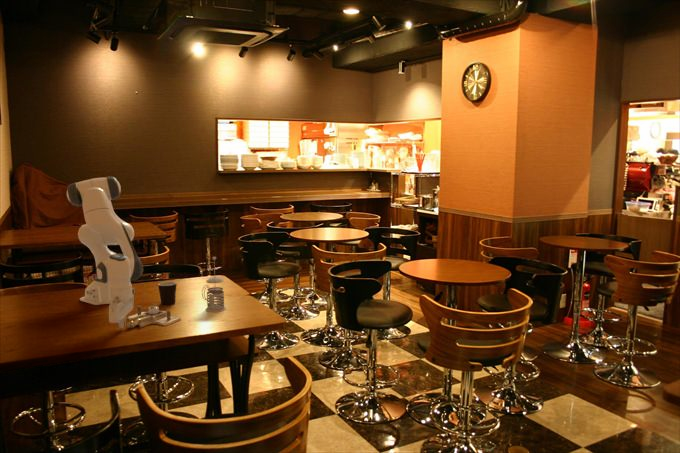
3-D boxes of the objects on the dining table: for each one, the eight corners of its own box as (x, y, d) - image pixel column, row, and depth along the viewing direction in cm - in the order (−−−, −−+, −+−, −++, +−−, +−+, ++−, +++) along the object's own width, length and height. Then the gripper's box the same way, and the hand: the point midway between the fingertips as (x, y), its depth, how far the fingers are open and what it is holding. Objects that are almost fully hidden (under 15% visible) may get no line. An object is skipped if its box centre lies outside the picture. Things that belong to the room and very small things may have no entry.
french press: (230, 308, 261) (229, 256, 257) (209, 314, 252) (207, 260, 249) (218, 305, 267) (216, 254, 264) (197, 310, 259) (195, 257, 255)
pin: (133, 328, 231) (132, 321, 231) (127, 328, 233) (127, 320, 232) (148, 322, 239) (148, 316, 239) (143, 322, 241) (143, 315, 240)
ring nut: (146, 317, 244) (146, 307, 244) (156, 315, 247) (155, 305, 247) (151, 319, 241) (150, 309, 240) (160, 317, 244) (160, 307, 243)
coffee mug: (172, 306, 265) (171, 286, 263) (155, 305, 266) (154, 285, 265) (183, 300, 276) (182, 280, 275) (167, 299, 278) (166, 279, 276)
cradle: (117, 323, 240) (116, 311, 239) (143, 313, 253) (142, 303, 252) (155, 329, 230) (155, 318, 229) (180, 320, 244) (180, 309, 243)
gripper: (120, 300, 216) (122, 335, 218) (135, 287, 236) (137, 319, 238) (103, 301, 216) (105, 335, 218) (120, 288, 236) (122, 319, 238)
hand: (122, 326), depth 228 cm, fingers closed
